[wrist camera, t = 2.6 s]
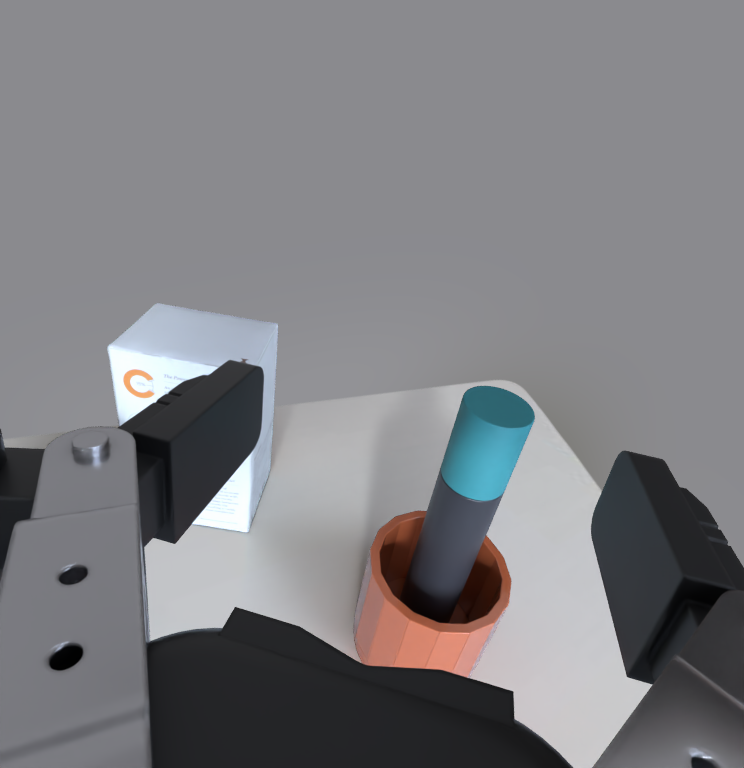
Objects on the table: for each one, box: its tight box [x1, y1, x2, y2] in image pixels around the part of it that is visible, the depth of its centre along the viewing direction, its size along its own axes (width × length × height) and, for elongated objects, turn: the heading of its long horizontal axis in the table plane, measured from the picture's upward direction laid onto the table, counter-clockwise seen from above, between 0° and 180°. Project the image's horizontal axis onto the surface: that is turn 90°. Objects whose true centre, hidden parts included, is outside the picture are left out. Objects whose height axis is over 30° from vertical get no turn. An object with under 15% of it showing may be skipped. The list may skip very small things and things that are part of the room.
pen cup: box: [353, 511, 511, 678], centre depth 28 cm, size 7×7×6 cm
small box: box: [107, 303, 278, 532], centre depth 33 cm, size 8×6×13 cm
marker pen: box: [399, 386, 535, 623], centre depth 25 cm, size 3×3×16 cm
